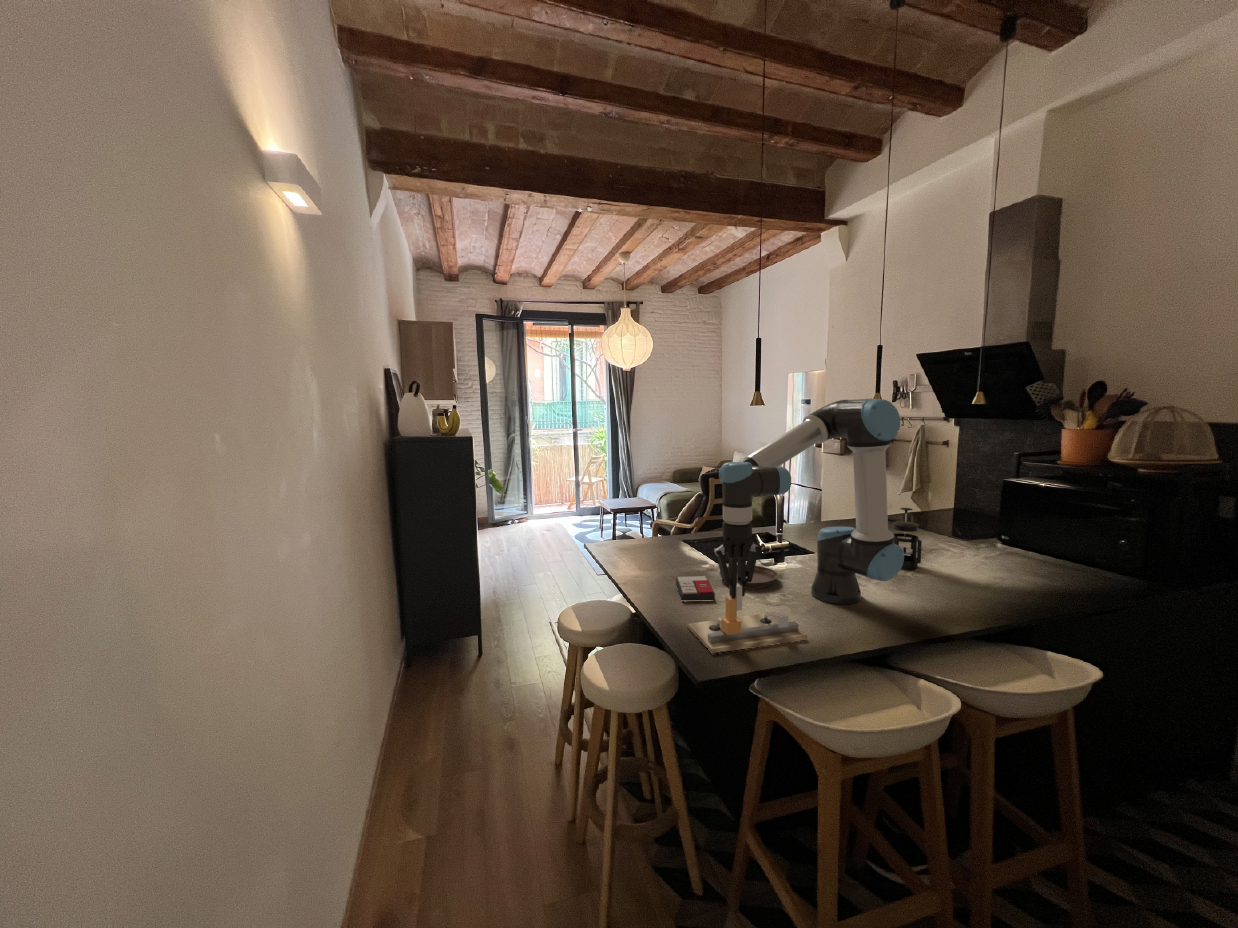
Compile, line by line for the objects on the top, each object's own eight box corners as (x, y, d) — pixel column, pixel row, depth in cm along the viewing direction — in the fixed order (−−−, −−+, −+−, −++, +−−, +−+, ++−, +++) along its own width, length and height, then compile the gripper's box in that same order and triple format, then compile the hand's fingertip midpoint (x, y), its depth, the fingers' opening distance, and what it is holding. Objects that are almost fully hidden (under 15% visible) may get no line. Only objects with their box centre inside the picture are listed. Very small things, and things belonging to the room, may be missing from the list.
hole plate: (774, 616, 151) (775, 611, 151) (807, 640, 136) (807, 634, 135) (687, 628, 144) (687, 623, 144) (711, 654, 129) (711, 648, 129)
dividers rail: (780, 618, 146) (780, 601, 146) (799, 632, 137) (799, 614, 137) (697, 629, 140) (697, 612, 140) (711, 645, 131) (711, 626, 130)
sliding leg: (724, 623, 142) (724, 586, 141) (741, 638, 133) (741, 599, 131) (711, 625, 141) (711, 588, 140) (727, 640, 132) (727, 601, 130)
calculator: (681, 592, 164) (675, 575, 179) (681, 605, 165) (675, 586, 179) (715, 591, 164) (706, 574, 179) (715, 604, 165) (706, 585, 179)
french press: (883, 563, 199) (885, 506, 196) (901, 560, 202) (903, 504, 199) (909, 572, 188) (912, 512, 185) (927, 569, 191) (930, 509, 188)
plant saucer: (708, 576, 189) (708, 568, 189) (755, 569, 196) (755, 561, 196) (740, 595, 170) (740, 586, 169) (790, 586, 177) (790, 577, 177)
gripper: (752, 516, 136) (752, 600, 139) (708, 520, 133) (708, 605, 135) (767, 522, 129) (766, 610, 131) (720, 526, 126) (720, 616, 128)
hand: (737, 608), depth 133 cm, fingers closed
